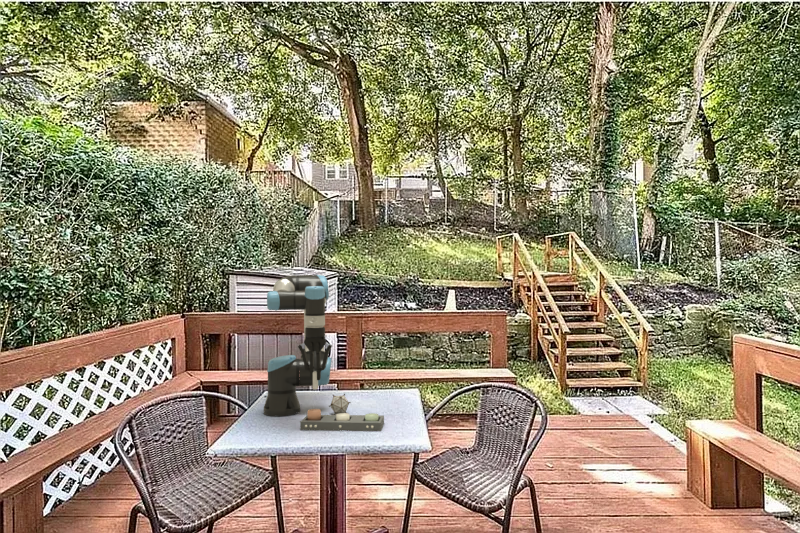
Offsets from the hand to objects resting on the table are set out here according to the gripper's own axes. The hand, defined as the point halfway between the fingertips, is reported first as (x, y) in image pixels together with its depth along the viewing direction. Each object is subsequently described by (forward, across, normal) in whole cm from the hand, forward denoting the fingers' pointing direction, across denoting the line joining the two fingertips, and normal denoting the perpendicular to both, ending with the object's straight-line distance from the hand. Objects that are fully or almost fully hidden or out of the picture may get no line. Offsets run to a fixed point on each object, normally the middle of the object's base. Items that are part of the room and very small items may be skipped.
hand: (315, 388), depth 210 cm
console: (+14, +11, -1) cm, 18 cm away
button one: (+13, +11, -1) cm, 17 cm away
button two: (+13, +22, -1) cm, 25 cm away
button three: (+12, 0, 0) cm, 12 cm away
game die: (+15, +6, +19) cm, 25 cm away
